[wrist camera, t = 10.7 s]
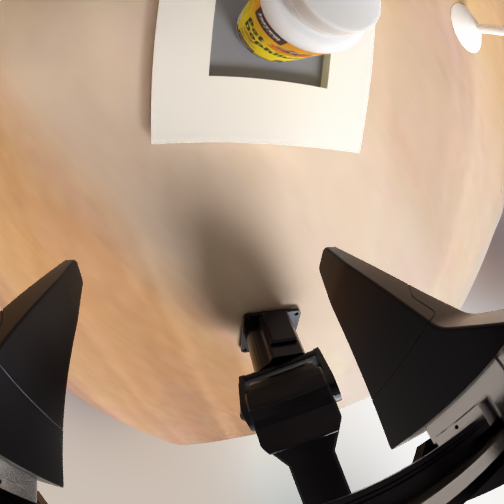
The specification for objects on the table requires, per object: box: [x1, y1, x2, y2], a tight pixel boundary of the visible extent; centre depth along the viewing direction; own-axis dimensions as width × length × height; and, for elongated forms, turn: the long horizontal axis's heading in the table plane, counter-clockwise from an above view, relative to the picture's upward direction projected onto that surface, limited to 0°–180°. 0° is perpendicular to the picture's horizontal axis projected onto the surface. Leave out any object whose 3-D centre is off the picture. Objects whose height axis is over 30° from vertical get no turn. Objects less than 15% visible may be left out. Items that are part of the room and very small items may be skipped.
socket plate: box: [151, 0, 375, 153], centre depth 14 cm, size 18×16×2 cm
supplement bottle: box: [237, 0, 381, 62], centre depth 11 cm, size 6×6×10 cm
